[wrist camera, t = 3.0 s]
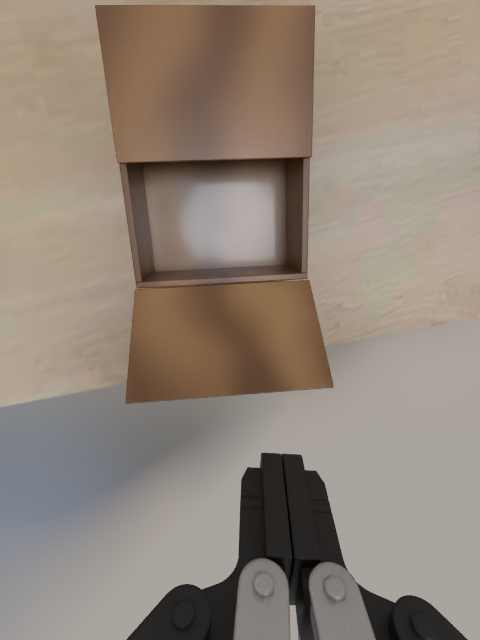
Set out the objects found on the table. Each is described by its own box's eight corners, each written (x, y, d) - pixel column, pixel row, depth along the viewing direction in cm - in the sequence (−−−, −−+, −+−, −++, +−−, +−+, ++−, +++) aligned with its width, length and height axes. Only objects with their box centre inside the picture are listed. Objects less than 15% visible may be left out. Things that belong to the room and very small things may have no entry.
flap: (333, 386, 21) (332, 387, 22) (309, 279, 25) (308, 281, 26) (125, 402, 20) (126, 403, 21) (134, 289, 25) (135, 291, 25)
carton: (290, 60, 27) (316, 3, 20) (289, 268, 32) (309, 280, 25) (125, 61, 26) (93, 3, 19) (151, 276, 31) (134, 290, 25)
